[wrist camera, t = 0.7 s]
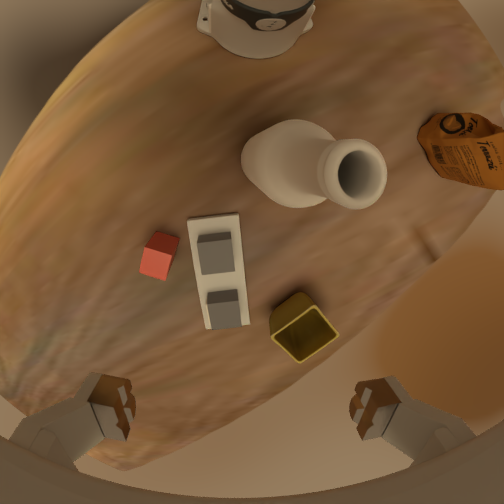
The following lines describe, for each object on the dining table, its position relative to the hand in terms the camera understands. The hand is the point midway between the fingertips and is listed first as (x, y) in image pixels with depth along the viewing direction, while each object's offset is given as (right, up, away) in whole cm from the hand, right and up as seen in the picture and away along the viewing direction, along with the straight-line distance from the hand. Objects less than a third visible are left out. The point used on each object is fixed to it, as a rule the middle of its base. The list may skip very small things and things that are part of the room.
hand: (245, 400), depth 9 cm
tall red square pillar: (-14, +6, +36) cm, 39 cm away
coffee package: (+37, +26, +35) cm, 58 cm away
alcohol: (+3, +19, +34) cm, 39 cm away
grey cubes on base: (-5, +1, +39) cm, 39 cm away
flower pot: (+8, -5, +43) cm, 44 cm away
